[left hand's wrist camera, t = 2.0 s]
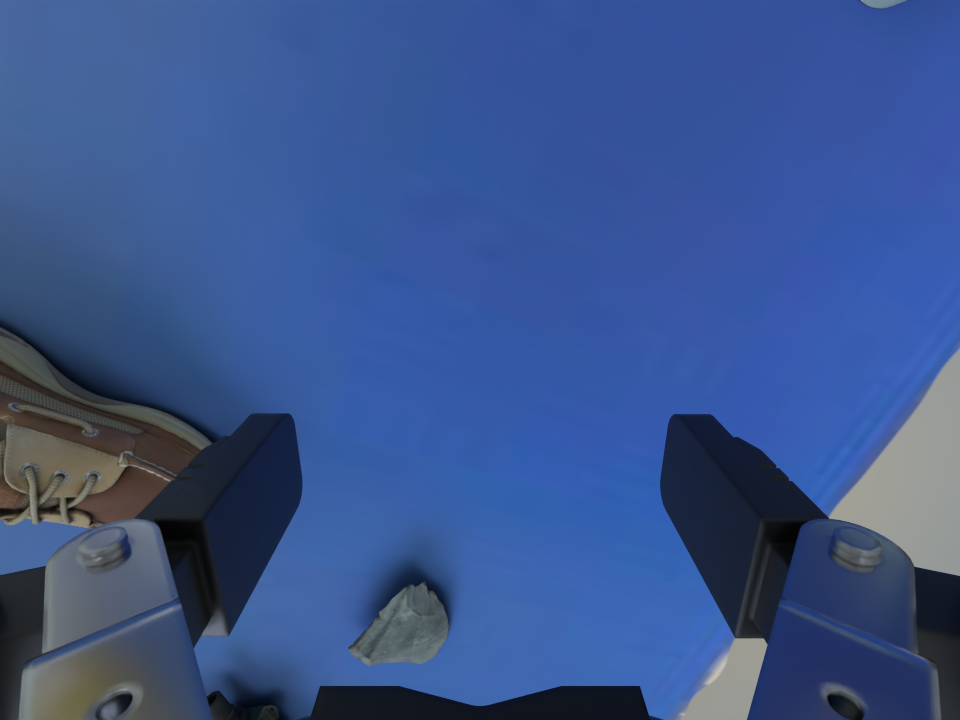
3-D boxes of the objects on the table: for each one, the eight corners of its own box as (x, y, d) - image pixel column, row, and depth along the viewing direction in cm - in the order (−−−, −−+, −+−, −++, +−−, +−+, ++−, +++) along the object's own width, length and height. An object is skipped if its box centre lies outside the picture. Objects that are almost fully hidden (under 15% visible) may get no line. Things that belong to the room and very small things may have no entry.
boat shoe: (237, 551, 48) (175, 650, 38) (-94, 400, 43) (-266, 469, 33) (287, 464, 45) (233, 547, 35) (-64, 287, 39) (-246, 327, 30)
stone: (475, 575, 50) (379, 563, 46) (485, 613, 47) (382, 604, 43) (429, 639, 55) (337, 633, 50) (435, 678, 51) (337, 675, 47)
